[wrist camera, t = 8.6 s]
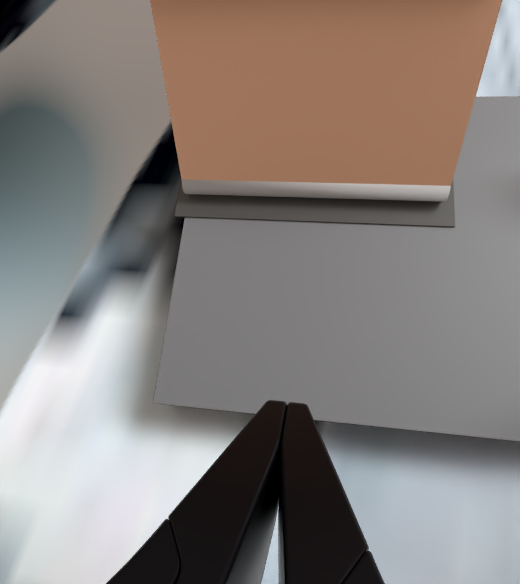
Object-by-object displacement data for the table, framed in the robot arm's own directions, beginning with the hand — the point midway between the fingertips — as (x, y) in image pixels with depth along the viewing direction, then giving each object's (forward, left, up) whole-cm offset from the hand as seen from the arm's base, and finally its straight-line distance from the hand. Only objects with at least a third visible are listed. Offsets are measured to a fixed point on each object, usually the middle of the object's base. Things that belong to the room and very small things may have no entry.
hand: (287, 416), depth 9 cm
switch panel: (+8, -5, -11) cm, 14 cm away
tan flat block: (+10, 0, -8) cm, 13 cm away
